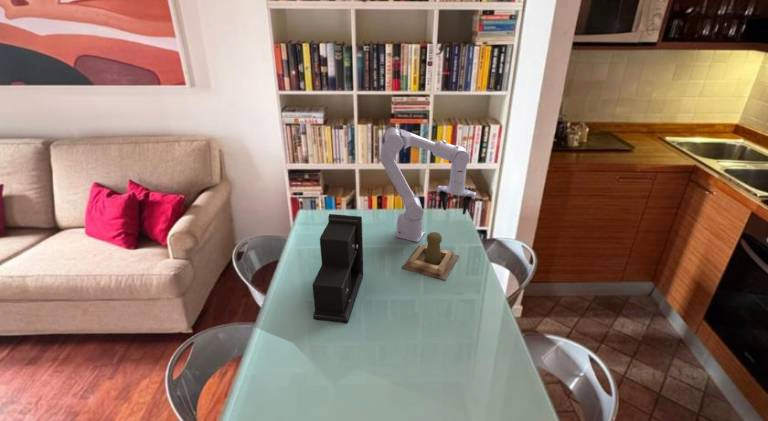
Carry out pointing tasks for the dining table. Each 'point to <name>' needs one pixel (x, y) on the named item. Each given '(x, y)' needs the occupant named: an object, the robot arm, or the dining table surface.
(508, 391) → the dining table surface
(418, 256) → the socket block
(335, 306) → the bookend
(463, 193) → the robot arm
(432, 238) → the cork
